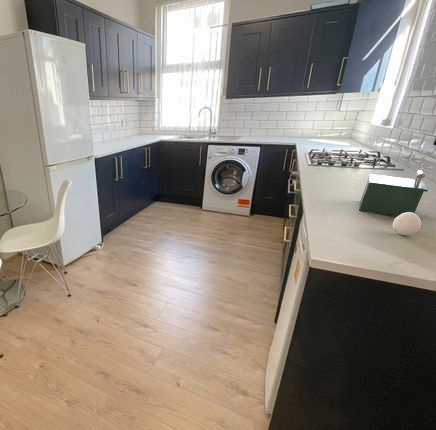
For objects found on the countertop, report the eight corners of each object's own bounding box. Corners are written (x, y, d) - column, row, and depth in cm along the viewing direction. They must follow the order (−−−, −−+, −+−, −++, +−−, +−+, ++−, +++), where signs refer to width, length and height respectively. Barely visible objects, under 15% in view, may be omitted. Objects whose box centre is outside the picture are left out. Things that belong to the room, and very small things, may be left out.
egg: (384, 232, 91) (393, 210, 88) (396, 229, 93) (405, 208, 90) (408, 240, 86) (418, 217, 83) (420, 237, 87) (430, 214, 85)
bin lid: (421, 182, 106) (427, 169, 104) (427, 191, 95) (433, 176, 93) (369, 176, 116) (373, 163, 114) (368, 183, 105) (373, 170, 103)
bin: (407, 208, 111) (418, 182, 107) (411, 220, 100) (423, 191, 96) (360, 200, 120) (369, 176, 116) (358, 210, 109) (368, 183, 105)
